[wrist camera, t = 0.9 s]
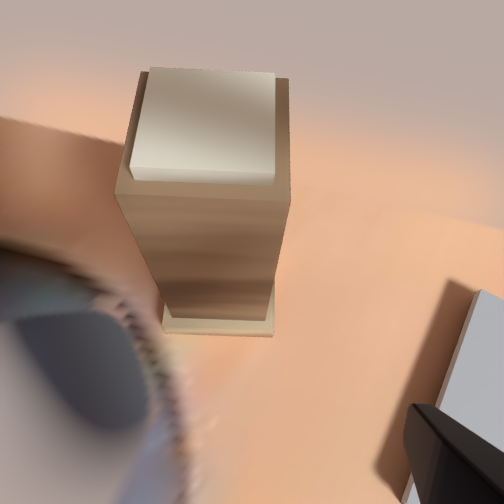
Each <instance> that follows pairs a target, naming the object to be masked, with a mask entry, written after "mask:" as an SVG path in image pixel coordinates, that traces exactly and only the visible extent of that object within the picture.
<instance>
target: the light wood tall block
mask: <svg viewBox="0 0 504 504" xmlns="http://www.w3.org/2000/svg"><path fill="white" fill-rule="evenodd" d="M288 82H289V80H288V79H287V78H275V73H264V72H263V73H262V72H243V71H222V70H202V69H181V68H161V67H150V70H149V72H141V73H140V78H139V82H138V87H137V91H136V96H135V101H134V105H133V109H132V114H131V118H130V123H129V127H128V132H127V136H126V141H125V145H124V150H123V154H122V159H121V163H120V168H119V172H118V177H117V181H116V186H115V190H114V196H115V198H116V200H117V202H118V204H119V206H120V208H121V210H122V212H123V215H124V217H125V219H126V221H127V223H128V225H129V227H130V229H131V231H132V234H133V236H134V238H135V240H136V242H137V244H138V246H139V248H140V250H141V253H142V255H143V257H144V259H145V261H146V263H147V265H148V267H149V269H150V272H151V274H152V276H153V278H154V280H155V282H156V284H157V286H158V289H159V291H160V293H161V295H162V297H163V299H164V301H165V306H164V314H163V321H162V328H163V329H164V331H165V333H166V334H193V335H220V336H247V337H273V333H274V284H275V273H276V268H277V263H278V259H279V254H280V249H281V245H282V240H283V235H284V231H285V226H286V221H287V217H288V212H289V207H290V203H291V187H290V137H289V136H290V135H289V134H290V132H289V83H288Z"/></svg>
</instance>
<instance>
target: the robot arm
mask: <svg viewBox="0 0 504 504" xmlns="http://www.w3.org/2000/svg"><path fill="white" fill-rule="evenodd" d="M403 445H404V448H405V452H406V455H407V459H408V462H409V466H410V469H411V473H412V476H413V480H414V483H415V487H416V490H417V494H418V497H419V501H420V504H504V452H503V451H501V450H500V449H498V448H497V447H495V446H494V445H492V444H491V443H489V442H488V441H486V440H485V439H483V438H482V437H480V436H478V435H477V434H475V433H474V432H472V431H471V430H469V429H468V428H466V427H465V426H463V425H462V424H460V423H459V422H457V421H456V420H454V419H453V418H451V417H450V416H448V415H447V414H445V413H444V412H442V411H441V410H439V409H438V408H436V407H435V406H433V405H432V404H430V403H419V402H412V403H411V404H410V405H409V407H408V410H407V415H406V420H405V425H404V430H403Z"/></svg>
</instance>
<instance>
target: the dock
mask: <svg viewBox="0 0 504 504" xmlns="http://www.w3.org/2000/svg"><path fill="white" fill-rule="evenodd" d="M435 407H436V408H438V409H439V410H441V411H442V412H444V413H445V414H447V415H448V416H450V417H451V418H453V419H454V420H456V421H457V422H459V423H460V424H462V425H463V426H465V427H466V428H468V429H469V430H471V431H472V432H474V433H475V434H477V435H478V436H480V437H482V438H483V439H485V440H486V441H488V442H489V443H491V444H492V445H494V446H495V447H497V448H498V449H500V450H501V451H503V452H504V300H502V299H500V298H498V297H496V296H494V295H492V294H490V293H488V292H486V291H484V290H482V289H481V290H479V291H478V292H476V293H475V294H474V297H473V300H472V303H471V306H470V308H469V311H468V314H467V317H466V320H465V322H464V325H463V328H462V331H461V334H460V336H459V339H458V342H457V345H456V348H455V351H454V353H453V356H452V359H451V362H450V365H449V367H448V370H447V373H446V376H445V379H444V381H443V384H442V387H441V390H440V393H439V396H438V398H437V401H436V404H435ZM401 504H420V501H419V497H418V494H417V490H416V487H415V483H414V480H413V476H412V473H411V474H410V477H409V480H408V483H407V486H406V488H405V491H404V494H403V497H402V500H401Z"/></svg>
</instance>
